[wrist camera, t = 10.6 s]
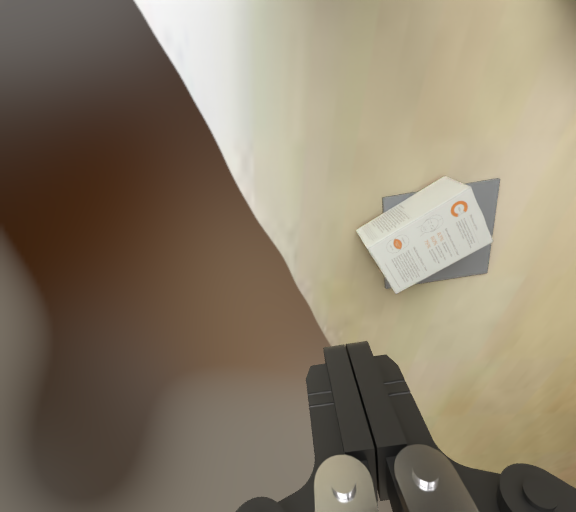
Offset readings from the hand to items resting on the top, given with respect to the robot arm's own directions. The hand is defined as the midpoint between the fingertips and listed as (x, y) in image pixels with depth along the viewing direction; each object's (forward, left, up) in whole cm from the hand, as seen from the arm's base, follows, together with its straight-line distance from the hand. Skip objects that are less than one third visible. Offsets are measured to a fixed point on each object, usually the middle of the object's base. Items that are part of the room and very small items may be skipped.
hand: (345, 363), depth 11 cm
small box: (+12, +8, -29) cm, 32 cm away
